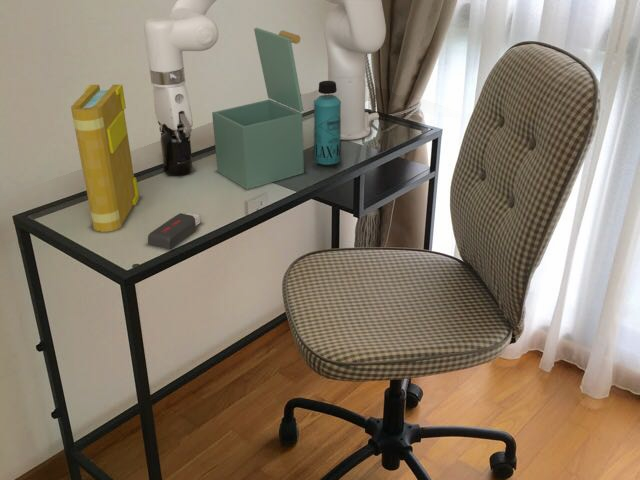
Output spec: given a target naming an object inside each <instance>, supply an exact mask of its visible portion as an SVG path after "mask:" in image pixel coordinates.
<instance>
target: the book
mask: <svg viewBox="0 0 640 480" xmlns="http://www.w3.org/2000/svg"><path fill="white" fill-rule="evenodd" d="M70 109H71V114H72V121H73V126H74V131H75V137H76V142H77V147H78V153H79V158H80V162H81V163H80V164H81V169H82V174H83V179H84V184H85V188H86V189H85V190H86V194H87V200H88V205H89V211H90V212H89V213H90V217H91V221H92V227H93V229H94V230H95V231H97V232H103V233H104V232H105V233H106V232H107V233H108V232H113V231H116V230H119V229H120V228H121V227H122V226H123V224H124V222H125V220H126V219H127V217H128V215H129V213H130V212H131V210H132V208H133V206H136V205H137V203H138V201H139V199H140V193H139V187H138V179H137V177H135V173H134V167H133V161H132V155H131V148H130V141H129V133H128V128H127V122H126V120H127V119H126V114H125V110H126V109H127V106H126V100H125V93H124V86H123V84H112V85H111V86H110V87H109V89H101V87H100V84H89V85H88V86H86V88H85V89H84V93H83V94H82V95H81V96H80V97H79V98H77V100H75V102H74V103H73V104H72V105H71V106H70Z"/></svg>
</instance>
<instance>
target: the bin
mask: <svg viewBox="0 0 640 480" xmlns="http://www.w3.org/2000/svg"><path fill="white" fill-rule="evenodd" d="M211 115H212V126H213V137H214V150H215V160H216V171H217V172H218V173H219V174H221V175H223V176H224V177H226V178H227V179H229V180H231V181H232V182H234V183H235V184H237V185H239V186H241V187H243V188H244V189H246V190H251V189H254V188H257V187H261V186H264V185H268V184H271V183H274V182H278V181H282V180H286V179H288V178H293V177H296V176H300V175H303V174H305V165H304V164H305V163H304V132H303V131H304V129H303V128H304V127H303V113H302V112H300V111H297V110H295V109H293V108H290V107H288V106H286V105H283V104H281V103H279V102H276V101H274V100H272V99H270V98H268V99H265V100H261V101H257V102H252V103H247V104H243V105H239V106H235V107H229V108H225V109H221V110H217V111H213V112H211Z"/></svg>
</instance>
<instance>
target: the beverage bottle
mask: <svg viewBox="0 0 640 480" xmlns="http://www.w3.org/2000/svg"><path fill="white" fill-rule="evenodd" d="M336 91H337V89H336V83H335V82H334V81H328V80H322V81H319V82H318V93H319V94H323V95H319V96H318V97H317V98H315V100H314V101H313V111H314V113H313V115H314V117H313V118H314V119H313V122H314V123H313V124H314V125H313V159H314V160H315V163H317V164H319V165H329V166H330V165H335V164H337V163H339V162H340V161H341V157H342V155H341V154H342V140H340V138H341V119H340V117H341V101H340V100H339V99H338V98H337V97H336V96H334V95H328V94H332V93H335V92H336Z"/></svg>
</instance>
